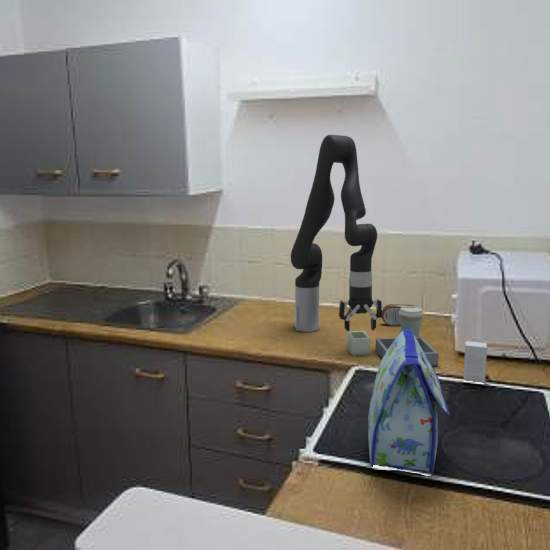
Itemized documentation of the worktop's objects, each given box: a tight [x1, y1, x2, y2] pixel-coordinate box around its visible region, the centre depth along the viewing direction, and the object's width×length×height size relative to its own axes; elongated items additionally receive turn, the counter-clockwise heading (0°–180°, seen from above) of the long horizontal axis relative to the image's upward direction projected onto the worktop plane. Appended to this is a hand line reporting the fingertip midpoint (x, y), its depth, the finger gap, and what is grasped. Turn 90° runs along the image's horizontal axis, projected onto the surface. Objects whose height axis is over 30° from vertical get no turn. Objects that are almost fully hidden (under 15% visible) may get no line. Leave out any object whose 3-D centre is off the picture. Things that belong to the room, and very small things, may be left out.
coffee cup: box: [399, 305, 424, 337], centre depth 199 cm, size 8×8×12 cm
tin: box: [381, 303, 415, 327], centre depth 217 cm, size 15×3×8 cm, turn 84°
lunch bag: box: [367, 329, 451, 475], centre depth 125 cm, size 22×17×26 cm
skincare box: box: [463, 340, 488, 384], centre depth 163 cm, size 6×4×12 cm
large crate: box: [375, 336, 439, 368], centre depth 183 cm, size 16×16×4 cm
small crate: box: [346, 330, 371, 356], centre depth 190 cm, size 6×8×6 cm
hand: (360, 330), depth 189 cm, fingers open, 8 cm apart
